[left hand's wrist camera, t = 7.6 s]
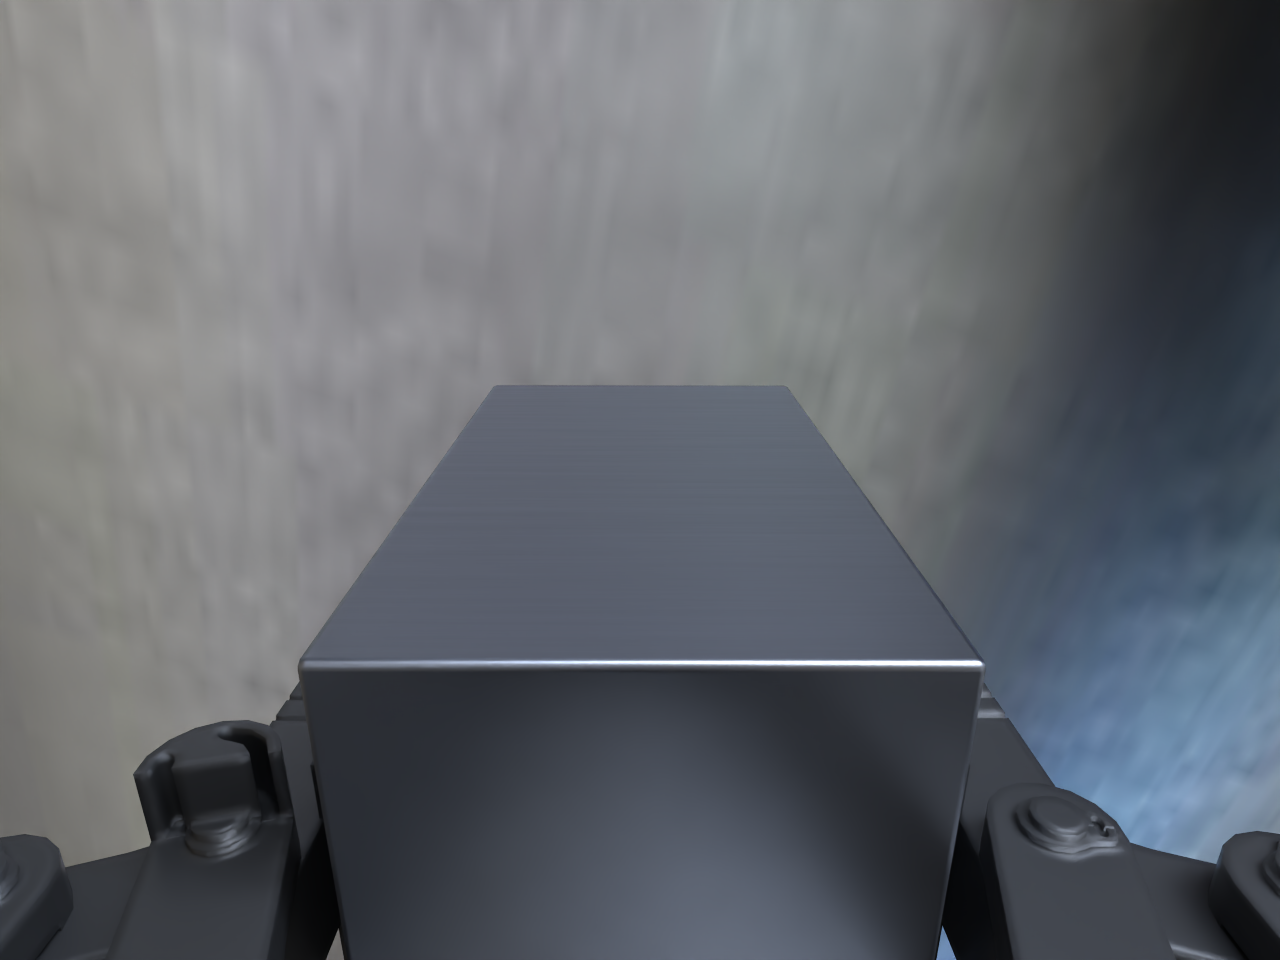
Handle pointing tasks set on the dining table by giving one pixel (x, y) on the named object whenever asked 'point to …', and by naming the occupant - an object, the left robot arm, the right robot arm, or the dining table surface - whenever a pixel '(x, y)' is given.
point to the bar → (641, 697)
